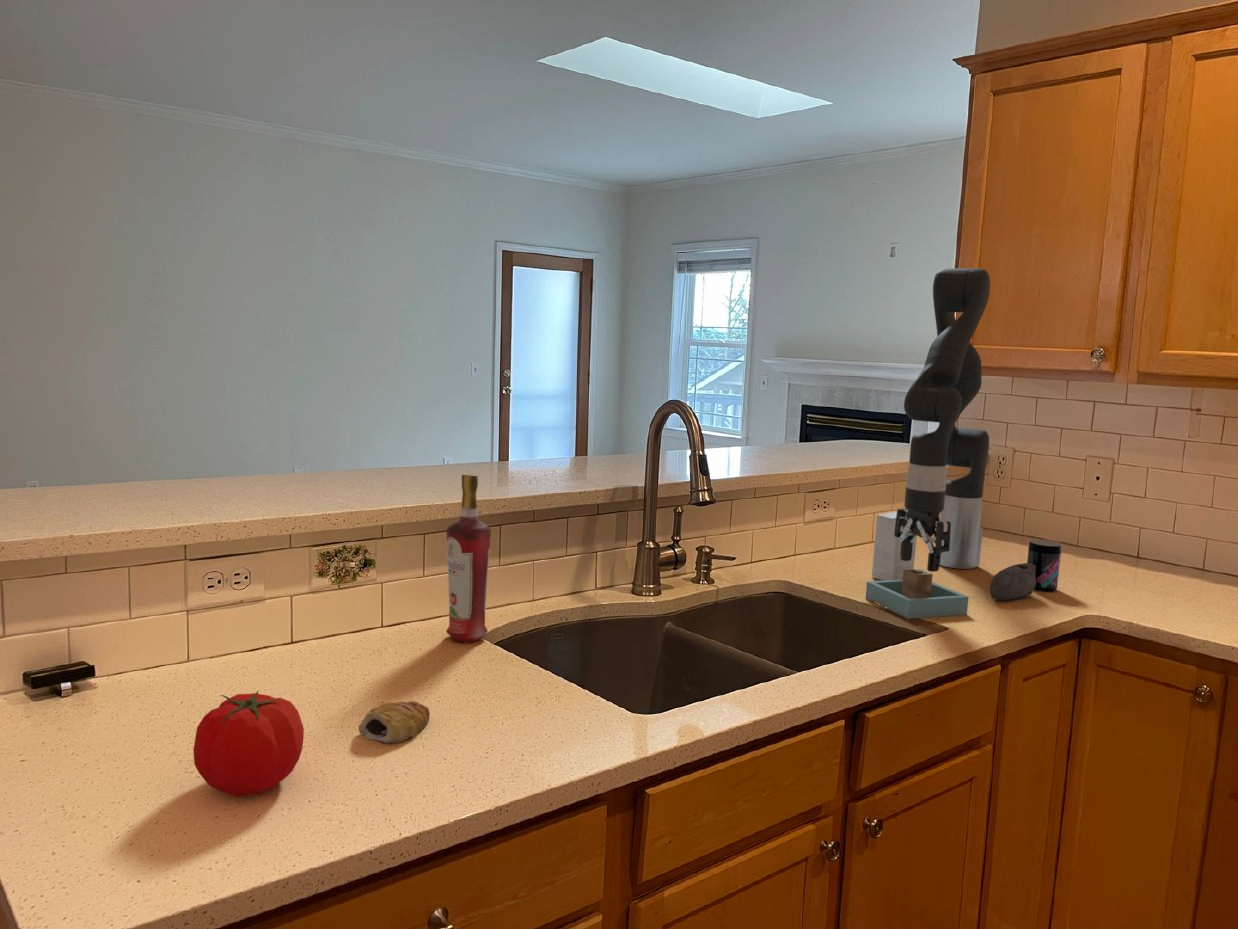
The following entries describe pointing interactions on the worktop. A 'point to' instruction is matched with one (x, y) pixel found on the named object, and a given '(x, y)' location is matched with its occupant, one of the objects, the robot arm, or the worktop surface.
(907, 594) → the walnut block
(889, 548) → the skincare box
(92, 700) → the worktop surface
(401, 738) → the pastry
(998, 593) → the perforated stone tool
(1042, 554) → the supplement container
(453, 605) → the liquor
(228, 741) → the tomato
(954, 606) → the tray
